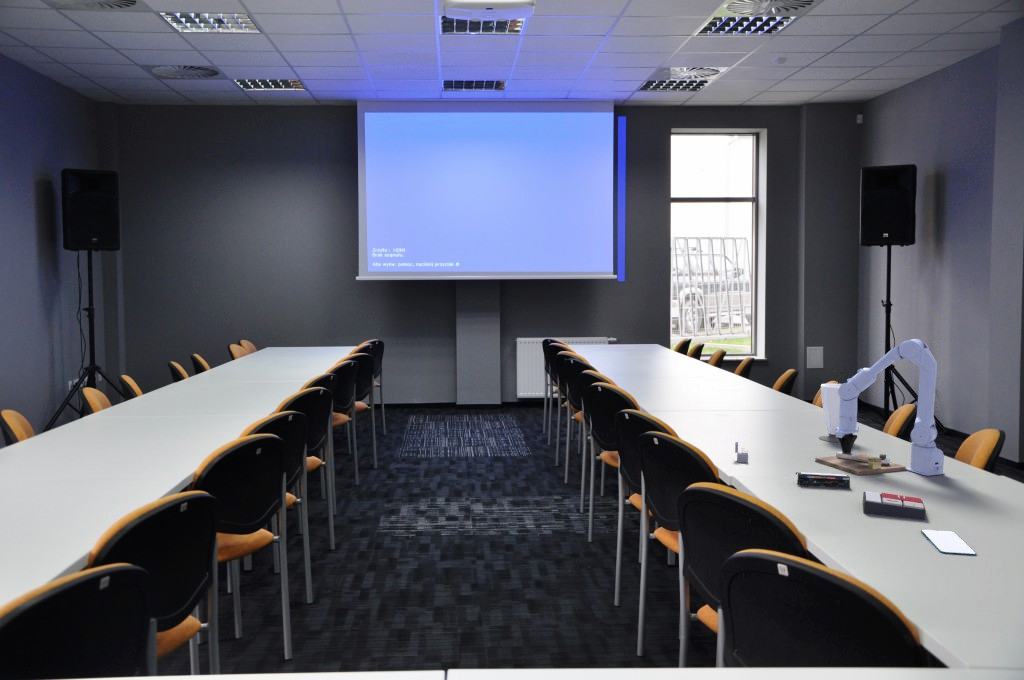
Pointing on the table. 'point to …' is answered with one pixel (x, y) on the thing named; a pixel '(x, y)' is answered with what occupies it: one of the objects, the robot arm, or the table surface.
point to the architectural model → (741, 455)
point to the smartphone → (947, 542)
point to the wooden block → (871, 461)
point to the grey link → (854, 457)
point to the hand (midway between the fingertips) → (846, 455)
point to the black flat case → (823, 480)
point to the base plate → (858, 465)
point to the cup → (830, 410)
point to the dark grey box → (893, 505)
